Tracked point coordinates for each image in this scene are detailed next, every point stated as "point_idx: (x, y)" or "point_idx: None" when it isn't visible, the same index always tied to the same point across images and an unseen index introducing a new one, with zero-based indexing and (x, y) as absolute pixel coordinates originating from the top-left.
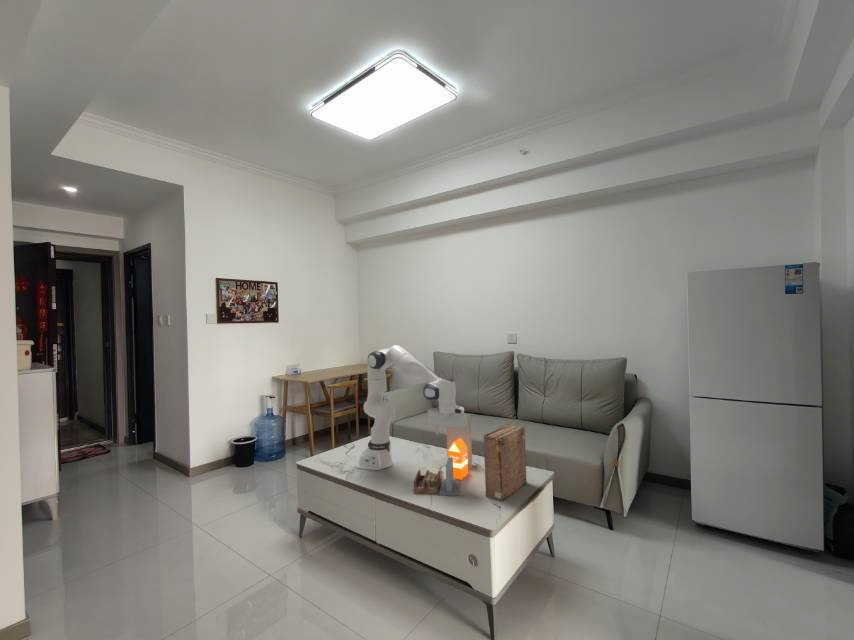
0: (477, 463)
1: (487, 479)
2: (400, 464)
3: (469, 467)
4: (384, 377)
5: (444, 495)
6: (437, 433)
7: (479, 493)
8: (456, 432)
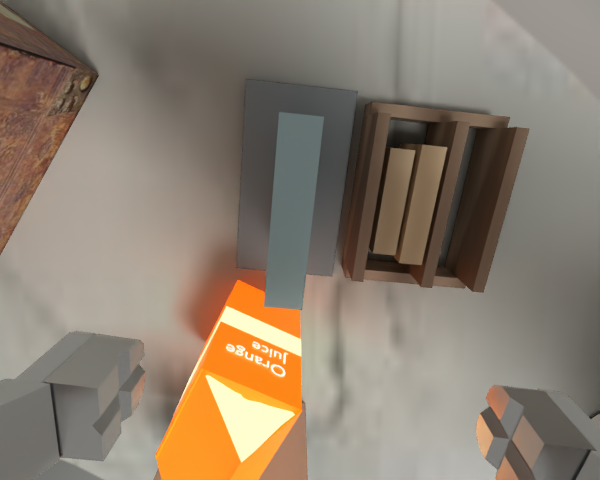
0: None
1: (7, 36)
2: None
3: None
4: None
5: (326, 88)
6: (560, 414)
7: (136, 112)
8: (34, 387)
